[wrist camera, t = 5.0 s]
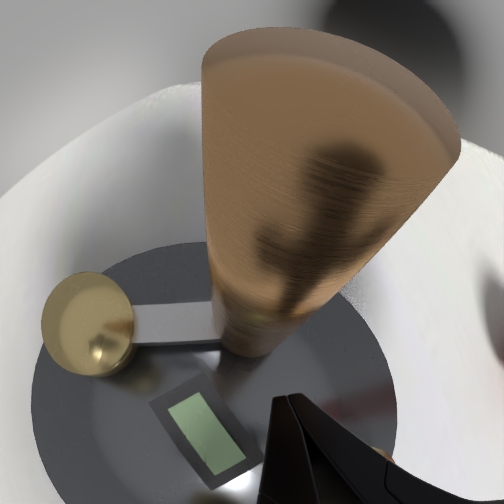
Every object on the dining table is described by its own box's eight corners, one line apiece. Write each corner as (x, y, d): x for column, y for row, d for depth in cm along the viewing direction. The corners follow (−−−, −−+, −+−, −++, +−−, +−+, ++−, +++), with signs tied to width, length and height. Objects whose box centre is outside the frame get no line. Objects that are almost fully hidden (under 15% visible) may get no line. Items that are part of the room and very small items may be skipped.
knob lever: (57, 374, 12) (-157, 279, 1) (61, 286, 14) (-85, 115, 3) (292, 366, 14) (523, 236, 2) (277, 273, 16) (376, 34, 5)
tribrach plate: (435, 439, 13) (465, 441, 10) (171, 600, 6) (166, 624, 4) (259, 201, 20) (265, 171, 17) (2, 343, 13) (-26, 331, 10)
